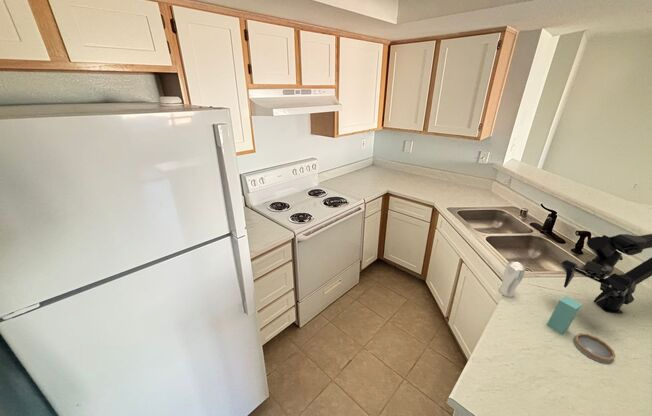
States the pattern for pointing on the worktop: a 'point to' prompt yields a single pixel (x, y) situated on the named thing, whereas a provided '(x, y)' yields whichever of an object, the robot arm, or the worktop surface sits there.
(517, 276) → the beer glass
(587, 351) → the groove tray
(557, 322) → the teal rectangular block
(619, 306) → the robot arm
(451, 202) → the worktop surface
